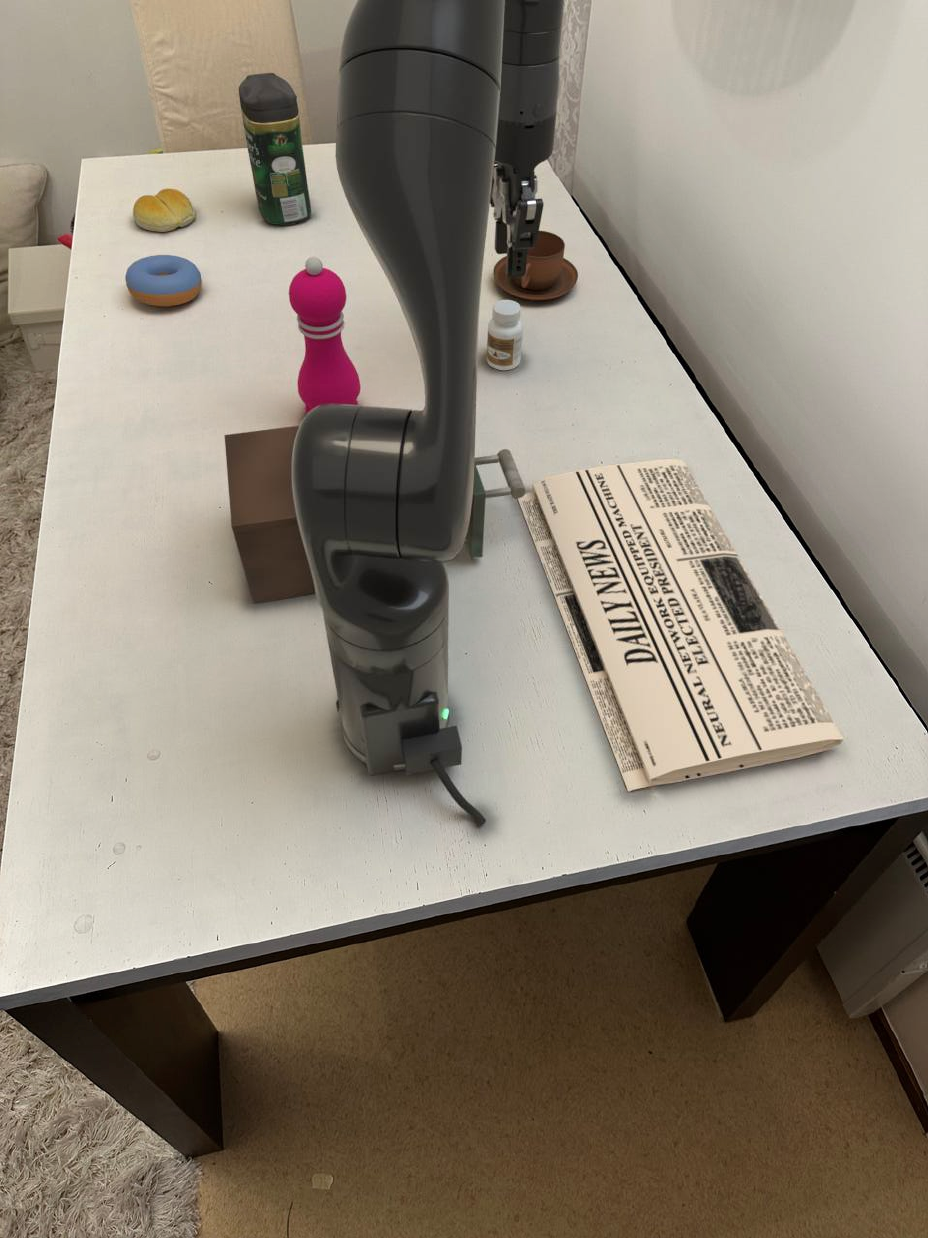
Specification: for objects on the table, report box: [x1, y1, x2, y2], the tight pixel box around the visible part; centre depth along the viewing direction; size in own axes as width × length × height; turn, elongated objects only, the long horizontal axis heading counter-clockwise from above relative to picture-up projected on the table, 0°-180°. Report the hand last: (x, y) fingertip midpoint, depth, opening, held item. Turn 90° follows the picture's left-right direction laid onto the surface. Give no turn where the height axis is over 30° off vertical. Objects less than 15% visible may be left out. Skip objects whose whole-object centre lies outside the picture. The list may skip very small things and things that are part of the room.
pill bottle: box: [486, 299, 524, 371], centre depth 106 cm, size 4×4×8 cm
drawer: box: [465, 448, 527, 559], centre depth 86 cm, size 19×12×9 cm, turn 103°
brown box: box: [224, 425, 316, 604], centre depth 84 cm, size 15×13×11 cm
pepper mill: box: [288, 256, 361, 416], centre depth 94 cm, size 7×7×20 cm
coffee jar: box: [238, 72, 312, 226], centre depth 125 cm, size 10×8×19 cm
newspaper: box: [517, 458, 844, 792], centre depth 83 cm, size 37×19×3 cm, turn 13°
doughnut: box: [124, 254, 203, 307], centre depth 115 cm, size 10×10×5 cm
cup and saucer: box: [492, 230, 579, 301], centre depth 118 cm, size 12×12×6 cm
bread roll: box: [132, 188, 197, 233], centre depth 129 cm, size 8×9×4 cm
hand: (509, 263), depth 99 cm, fingers open, 4 cm apart
